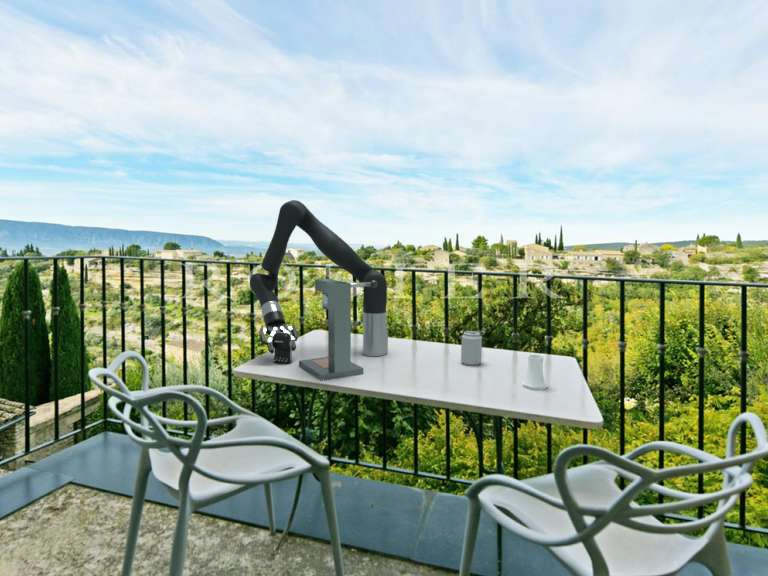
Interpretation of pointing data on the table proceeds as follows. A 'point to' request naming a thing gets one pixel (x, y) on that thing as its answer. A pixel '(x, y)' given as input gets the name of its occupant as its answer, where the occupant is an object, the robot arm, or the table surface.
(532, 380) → the vase
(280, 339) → the battery charger
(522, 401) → the table surface
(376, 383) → the table surface
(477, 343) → the can
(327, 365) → the press
